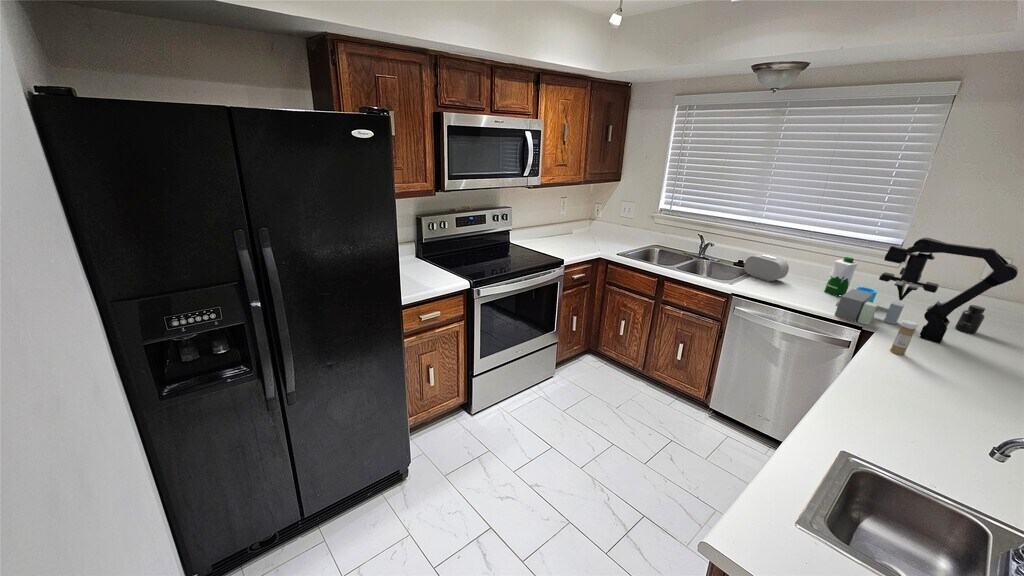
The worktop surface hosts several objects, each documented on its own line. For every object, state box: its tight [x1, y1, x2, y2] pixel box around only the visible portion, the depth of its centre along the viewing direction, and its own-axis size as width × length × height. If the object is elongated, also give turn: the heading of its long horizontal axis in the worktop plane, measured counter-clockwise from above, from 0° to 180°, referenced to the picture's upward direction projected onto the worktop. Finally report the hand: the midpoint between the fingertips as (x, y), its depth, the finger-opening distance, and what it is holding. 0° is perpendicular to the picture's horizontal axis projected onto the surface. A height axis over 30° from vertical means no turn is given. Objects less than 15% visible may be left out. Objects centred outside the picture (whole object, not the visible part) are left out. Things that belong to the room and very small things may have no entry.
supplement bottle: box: [955, 304, 986, 335], centre depth 184 cm, size 7×7×12 cm
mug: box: [856, 286, 878, 303], centre depth 211 cm, size 12×8×8 cm
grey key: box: [876, 301, 905, 325], centre depth 195 cm, size 16×5×9 cm, turn 38°
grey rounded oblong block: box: [743, 254, 790, 282], centre depth 243 cm, size 21×10×13 cm, turn 32°
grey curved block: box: [834, 288, 873, 323], centre depth 197 cm, size 8×18×10 cm, turn 128°
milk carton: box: [823, 256, 858, 297], centre depth 222 cm, size 9×9×20 cm
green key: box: [835, 300, 879, 326], centre depth 192 cm, size 14×5×9 cm, turn 38°
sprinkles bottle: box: [889, 319, 919, 356], centre depth 161 cm, size 5×5×14 cm
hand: (900, 300), depth 182 cm, fingers closed
